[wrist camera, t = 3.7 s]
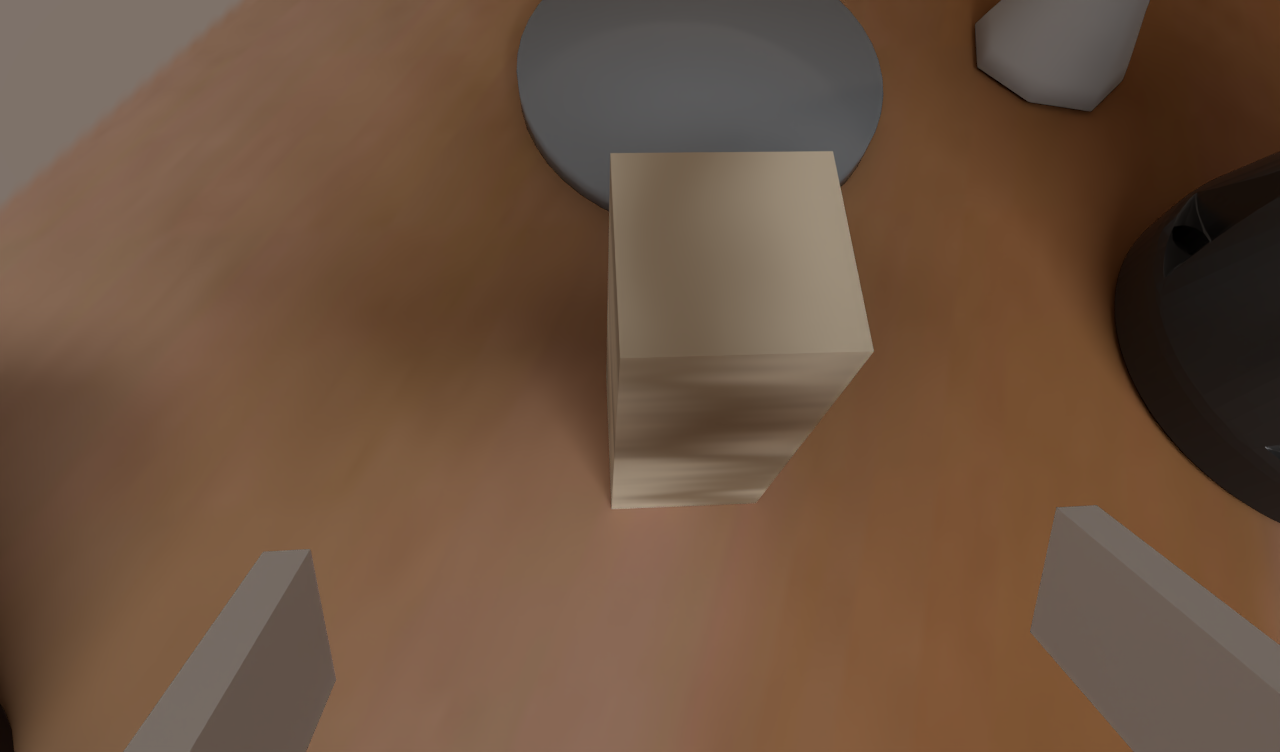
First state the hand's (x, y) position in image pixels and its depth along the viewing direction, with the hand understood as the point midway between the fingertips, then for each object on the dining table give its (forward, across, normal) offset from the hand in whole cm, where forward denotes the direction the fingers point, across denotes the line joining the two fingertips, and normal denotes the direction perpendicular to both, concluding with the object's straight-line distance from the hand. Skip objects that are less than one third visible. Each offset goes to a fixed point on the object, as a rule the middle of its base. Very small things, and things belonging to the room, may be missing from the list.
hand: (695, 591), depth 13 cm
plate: (+24, +4, +9) cm, 26 cm away
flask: (+26, +21, +10) cm, 35 cm away
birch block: (+13, +1, -3) cm, 13 cm away
